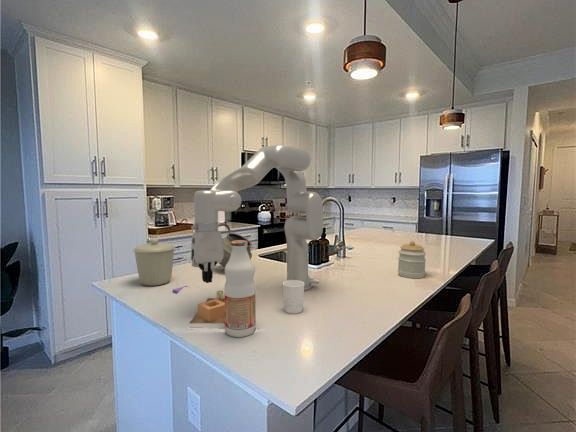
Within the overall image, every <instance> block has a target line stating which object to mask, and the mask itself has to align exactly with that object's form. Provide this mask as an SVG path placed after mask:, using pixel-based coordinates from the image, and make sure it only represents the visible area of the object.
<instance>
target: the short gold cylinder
mask: <svg viewBox="0 0 576 432" xmlns="http://www.w3.org/2000/svg"><path fill="white" fill-rule="evenodd" d="M216 298H217V299H218V300H220V301H222V302H223V298H224V290H223V291H222V290H217V291H216Z"/></svg>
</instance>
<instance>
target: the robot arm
mask: <svg viewBox="0 0 576 432" xmlns="http://www.w3.org/2000/svg"><path fill="white" fill-rule="evenodd" d="M311 162H312V161H311V157H310V153H309V152H308V151H307V150H305V149H303V148H298V147H295V146H294V147H293V146H291V145H286V144H275V145H267V146H266V145H265V146H262V147H261V148H260V149H259V150H257V151H256V152H255V153H254V154H253V155H252V156H251V157H250V158H249V159H248V160H247V161H246V162H245V163H244V164H243V165H242V166H241V167H239V168H237V169H236V170H234V171H233V172H231V173H229V174H227V175H226V176H224V177H222V178H221V179H220V180H219V181H217V183H216V184H214V185H213V186H212V187H211V188H210V189H209V190H205V189H204V190H197V191H195V192H194V194H193V198H194V200H193V203H194V206H193V208H194V223H193V225H191V226H190V228H191V230H194V231H193V232H192V237H191V246H190V259H191V267H193V268H199V270H201V280H202V282H203V283H206V284H209V283H212V282H213V275H214V274H213V271H214V269H215V267H216V266H217V265H219V263H220V262H222V259H223V257H224V252H223V241H222V238H223V237H222V232H221V231H220V230H219V227H218V224H219V212H224V213H225V212H226V213H227V212H228V213H229V212H235V211H237V210H238V209H239V208H240V207H241V204H242V197H241V195H240V193H238V192H240V191H242V190H245V189H249V188H252V187H254V186H256V185H257V184H259V183H260V182H261V181H262V180H263V179H264V178H265V176H267V174H268V173H269V172H270V171H271V170H272V169H273V168H274V169H276V170H277V171H279V173H280V174H281V175H282V176H283V178H284V179H285V184H286V185H285V186H286V204H287V205H286V206H287V209H288V211H289V212H290V213H293V214H298V215H299V214H300V215H301V214H303V215H306V216H300V215H299V216H298V215H295V216H294V215H293V216H291V217H288V218H287V219H286V220H285V223H284V234H285V239H286V281H288V280H298V281H302V282H304V292H305V291H308V290H311V288H312V286H313V285H312V284H314V285H317V284H319V283H320V282H319V281H320V280H319V278H318V279H316V278H310V275H309V244H308V242H307V240H308V241H317V240H319V239H320V238H321V237H322V234H323V231H324V230H323V229H324V210H323V205H324V203H323V200H322V197H321V196H320V195H319V193H317V192H315V191H307V181H306V176H305V174H304V171H307V169H308V168H309V167H310V165H311Z"/></svg>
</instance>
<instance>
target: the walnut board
mask: <svg viewBox="0 0 576 432" xmlns="http://www.w3.org/2000/svg"><path fill="white" fill-rule="evenodd" d="M214 299H217V297H216V298H215V297H211V298H210V297H208V298H207V299H206V300H205V302H207V301H210V300H214ZM223 302H224V303H225V298H224V297H223ZM189 324H225V317H222V318H219V319H216V320H213V321H210V322H209V321H207V320H205V319H203V318H202V317H200V316H198V311H197V312H196V313H195V315H194V316H193V317H192V319H191V320H190V321H189ZM192 328H195V329H198V328H199V329H203V327H194V326H193V327H189V329H192Z"/></svg>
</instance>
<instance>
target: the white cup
mask: <svg viewBox="0 0 576 432" xmlns="http://www.w3.org/2000/svg"><path fill="white" fill-rule="evenodd" d="M304 299H305V291H304V282H302V281H298V280H288V281H287V280H284V281H283V282H282V300H283V311H284V312H285V313H288V314H300V313H302V312H303V309H304Z"/></svg>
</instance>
